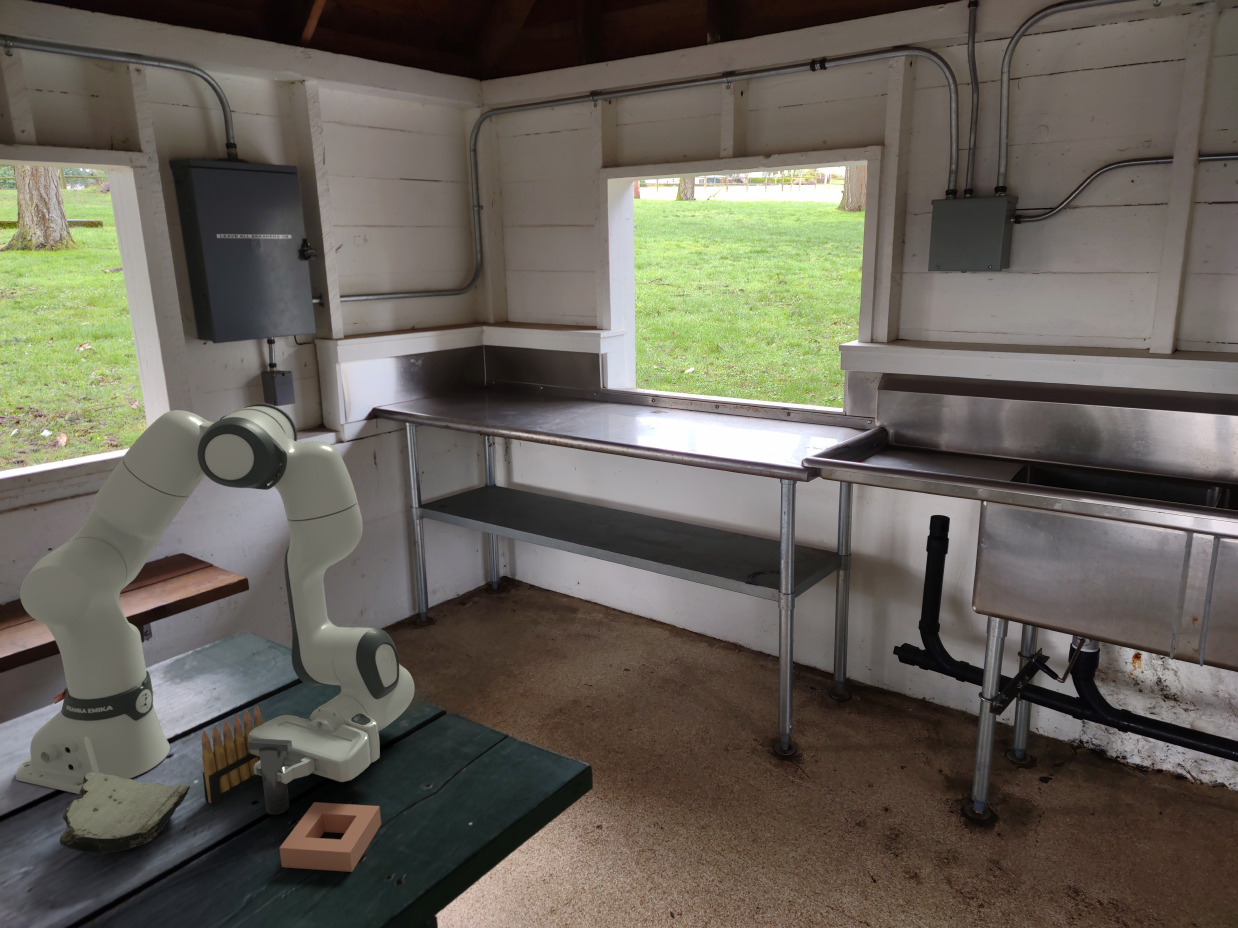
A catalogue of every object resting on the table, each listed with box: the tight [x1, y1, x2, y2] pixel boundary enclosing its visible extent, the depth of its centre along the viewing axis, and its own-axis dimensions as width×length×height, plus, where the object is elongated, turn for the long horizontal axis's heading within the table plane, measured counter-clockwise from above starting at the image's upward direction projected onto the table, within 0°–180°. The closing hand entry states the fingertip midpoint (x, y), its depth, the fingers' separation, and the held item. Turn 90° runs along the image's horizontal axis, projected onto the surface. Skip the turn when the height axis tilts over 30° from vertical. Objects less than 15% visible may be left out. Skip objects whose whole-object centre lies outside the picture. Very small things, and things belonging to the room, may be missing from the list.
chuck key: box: [249, 738, 292, 816], centre depth 125 cm, size 6×3×11 cm, turn 83°
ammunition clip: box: [201, 704, 264, 807], centre depth 132 cm, size 11×2×12 cm, turn 148°
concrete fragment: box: [59, 772, 191, 855], centre depth 121 cm, size 15×10×15 cm
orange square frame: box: [278, 801, 382, 873], centre depth 119 cm, size 10×10×3 cm
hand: (268, 774), depth 124 cm, fingers closed on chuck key, 3 cm apart
